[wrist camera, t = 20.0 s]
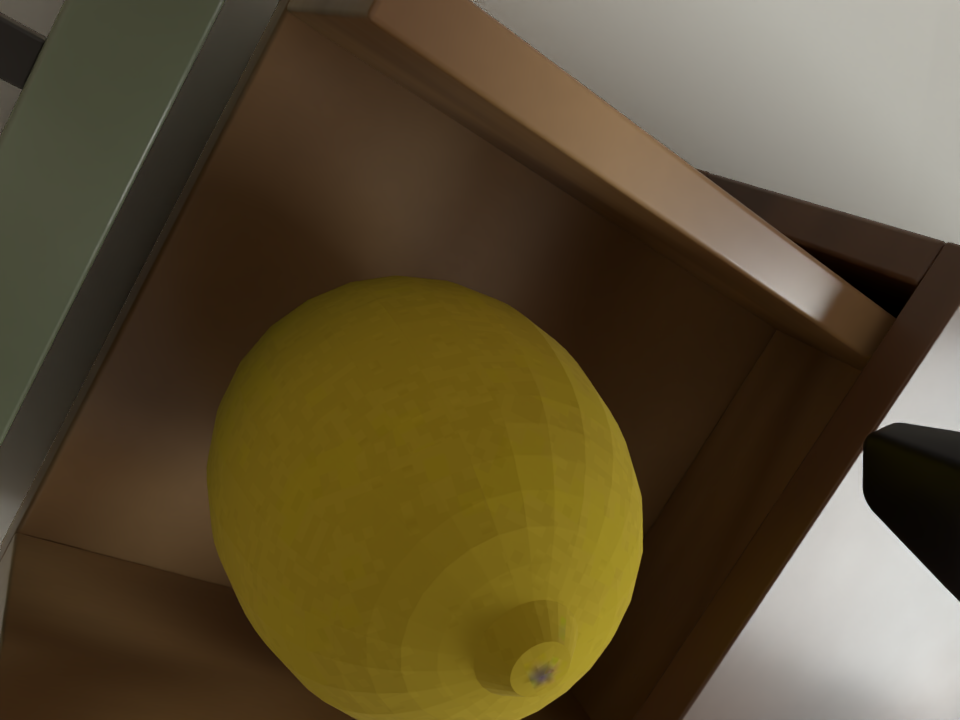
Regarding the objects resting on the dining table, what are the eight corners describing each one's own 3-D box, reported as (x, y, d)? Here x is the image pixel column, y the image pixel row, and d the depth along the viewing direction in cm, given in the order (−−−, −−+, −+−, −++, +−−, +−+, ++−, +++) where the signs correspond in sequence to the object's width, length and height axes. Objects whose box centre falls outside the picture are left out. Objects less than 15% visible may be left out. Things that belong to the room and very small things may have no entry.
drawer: (-606, 430, 12) (-1123, 755, 7) (-251, -486, 10) (-591, -963, 5) (530, 695, 22) (658, 899, 17) (799, 271, 20) (1028, 361, 15)
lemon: (109, 411, 14) (127, 804, 7) (330, 152, 14) (559, 306, 7) (356, 556, 17) (534, 933, 10) (541, 343, 17) (846, 580, 10)
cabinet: (385, 662, 21) (518, 962, 14) (685, 164, 19) (992, 253, 13) (792, 757, 29) (990, 973, 23) (1027, 419, 27) (1315, 550, 21)
